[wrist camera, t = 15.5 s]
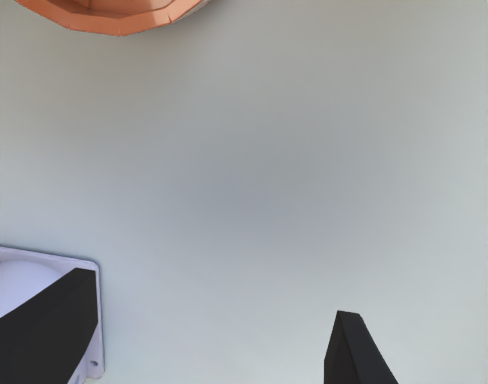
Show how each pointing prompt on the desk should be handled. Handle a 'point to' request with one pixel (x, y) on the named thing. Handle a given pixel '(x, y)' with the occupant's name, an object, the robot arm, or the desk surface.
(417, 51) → the desk surface
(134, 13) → the dish
